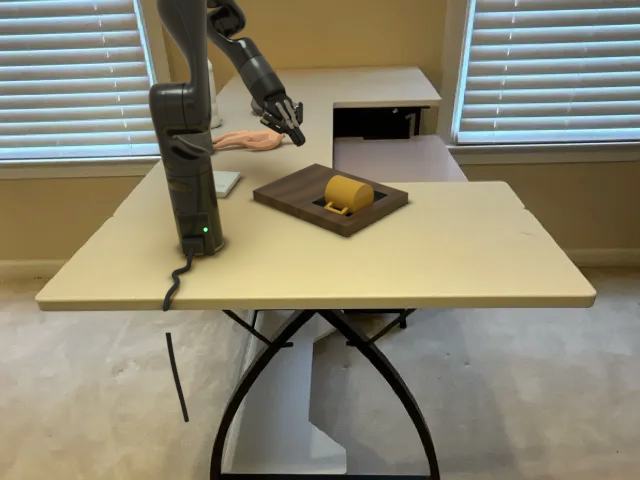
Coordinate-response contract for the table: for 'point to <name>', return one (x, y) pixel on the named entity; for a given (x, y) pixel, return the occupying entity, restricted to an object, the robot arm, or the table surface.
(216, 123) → the water bottle
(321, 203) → the sink
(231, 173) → the hard drive
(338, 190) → the mug
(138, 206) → the table surface
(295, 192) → the counter
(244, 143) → the male figurine
